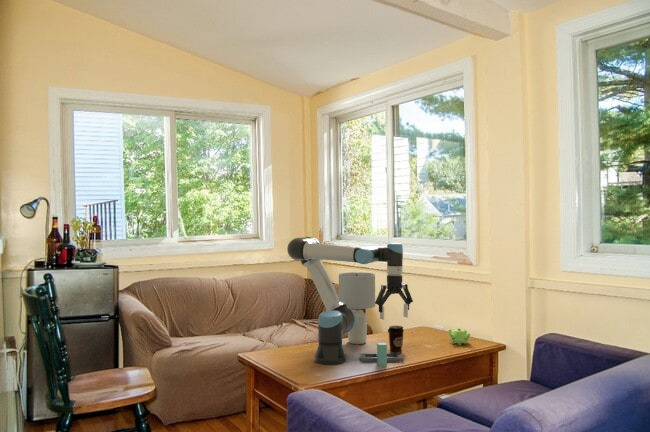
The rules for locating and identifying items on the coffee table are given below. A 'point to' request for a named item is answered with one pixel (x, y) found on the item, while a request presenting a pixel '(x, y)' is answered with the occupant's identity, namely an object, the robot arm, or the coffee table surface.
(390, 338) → the coffee cup
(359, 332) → the lamp
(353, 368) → the coffee table surface
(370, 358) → the grey flat frame
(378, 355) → the teal brick
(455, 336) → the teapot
